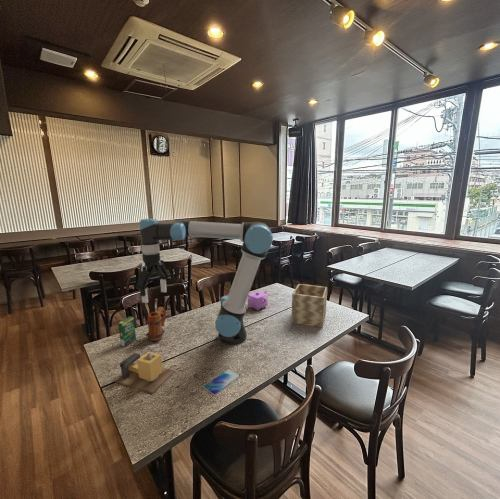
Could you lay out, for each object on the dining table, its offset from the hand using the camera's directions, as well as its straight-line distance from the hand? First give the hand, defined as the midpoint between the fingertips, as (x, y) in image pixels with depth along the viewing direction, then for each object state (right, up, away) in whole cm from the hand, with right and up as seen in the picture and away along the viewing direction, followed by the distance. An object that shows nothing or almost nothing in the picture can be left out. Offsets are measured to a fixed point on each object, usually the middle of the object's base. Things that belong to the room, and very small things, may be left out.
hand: (155, 296), depth 128 cm
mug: (-5, -25, +19) cm, 32 cm away
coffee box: (-18, -26, +12) cm, 34 cm away
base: (+1, -31, -13) cm, 34 cm away
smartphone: (+33, -32, -16) cm, 49 cm away
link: (-1, -29, -13) cm, 32 cm away
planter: (+81, -20, +39) cm, 92 cm away
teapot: (+50, -17, +55) cm, 76 cm away
